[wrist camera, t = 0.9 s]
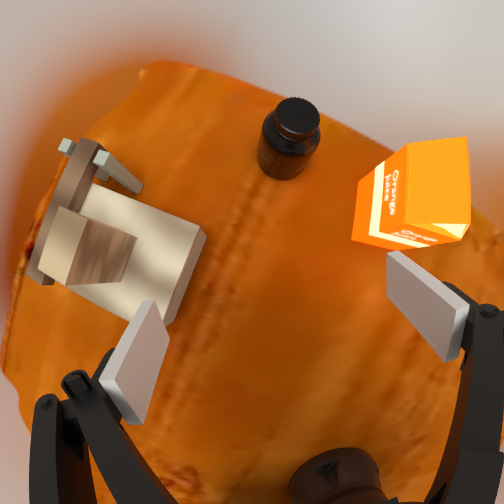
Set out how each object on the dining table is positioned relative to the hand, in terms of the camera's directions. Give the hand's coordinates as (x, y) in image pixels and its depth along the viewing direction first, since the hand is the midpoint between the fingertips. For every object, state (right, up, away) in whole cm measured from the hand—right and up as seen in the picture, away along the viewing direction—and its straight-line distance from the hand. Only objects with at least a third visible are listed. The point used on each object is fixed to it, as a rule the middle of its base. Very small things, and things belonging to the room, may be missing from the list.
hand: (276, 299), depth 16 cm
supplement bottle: (+3, +16, +24) cm, 29 cm away
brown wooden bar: (-22, +7, +13) cm, 27 cm away
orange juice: (+17, +8, +24) cm, 30 cm away
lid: (-17, +3, +14) cm, 23 cm away
